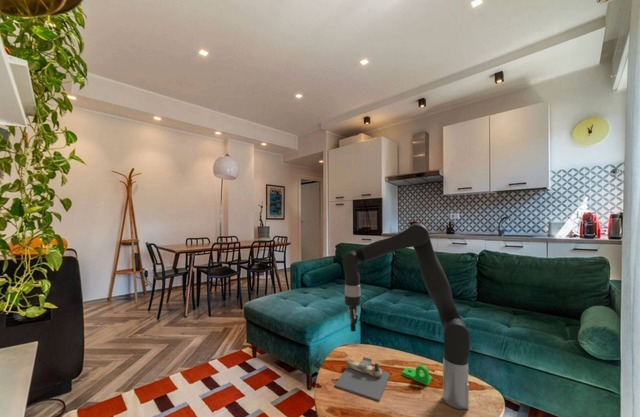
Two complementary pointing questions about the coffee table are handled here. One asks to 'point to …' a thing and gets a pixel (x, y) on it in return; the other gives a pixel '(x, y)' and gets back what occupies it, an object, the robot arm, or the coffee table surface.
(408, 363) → the coffee table surface
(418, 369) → the mechanical part
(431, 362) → the coffee table surface
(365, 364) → the keeper
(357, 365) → the latch bar
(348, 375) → the base plate
